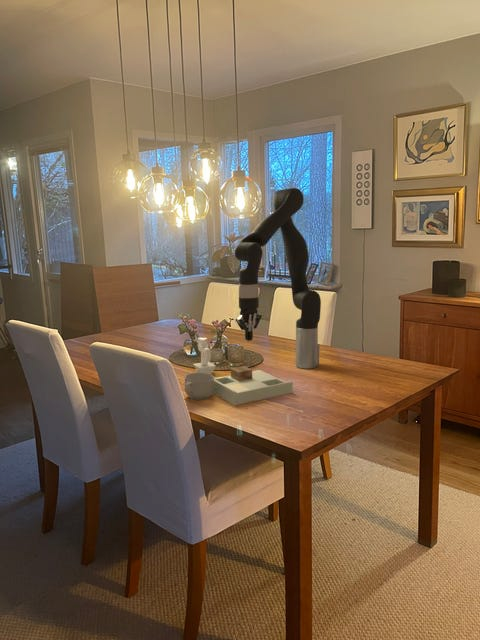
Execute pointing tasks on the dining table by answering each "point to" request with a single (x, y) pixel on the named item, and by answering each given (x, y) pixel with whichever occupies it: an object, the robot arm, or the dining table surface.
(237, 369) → the block
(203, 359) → the figurine
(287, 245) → the robot arm
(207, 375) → the teacup
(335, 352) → the dining table surface
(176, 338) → the dining table surface
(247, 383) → the box
